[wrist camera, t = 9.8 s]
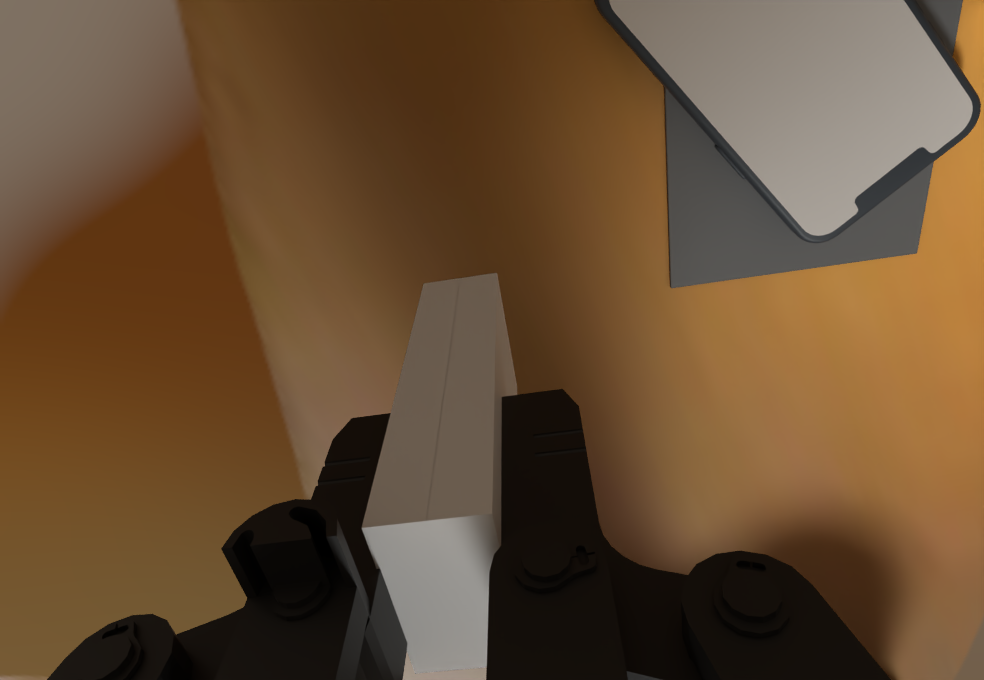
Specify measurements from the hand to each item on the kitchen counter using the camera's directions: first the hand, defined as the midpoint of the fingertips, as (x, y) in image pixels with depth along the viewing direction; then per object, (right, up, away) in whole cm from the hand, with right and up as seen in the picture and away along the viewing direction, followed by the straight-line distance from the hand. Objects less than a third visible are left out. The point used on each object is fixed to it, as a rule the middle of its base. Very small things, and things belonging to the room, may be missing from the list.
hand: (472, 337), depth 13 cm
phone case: (+13, +12, +14) cm, 23 cm away
